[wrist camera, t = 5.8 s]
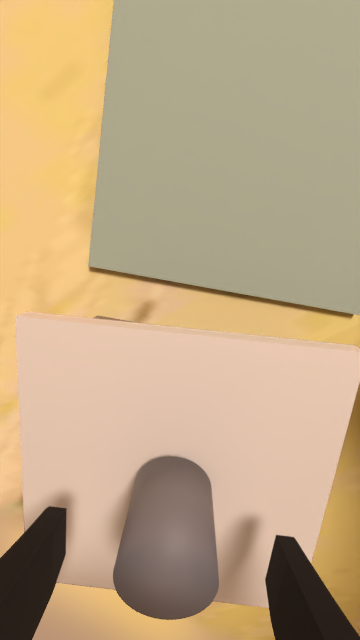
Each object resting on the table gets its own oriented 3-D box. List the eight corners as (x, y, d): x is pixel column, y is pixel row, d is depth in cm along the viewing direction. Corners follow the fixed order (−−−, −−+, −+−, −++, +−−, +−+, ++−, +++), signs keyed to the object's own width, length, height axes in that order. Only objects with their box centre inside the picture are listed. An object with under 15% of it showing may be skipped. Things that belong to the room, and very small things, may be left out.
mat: (465, -19, 12) (474, -28, 11) (355, 313, 15) (359, 315, 15) (125, -81, 12) (122, -92, 11) (90, 265, 15) (88, 266, 15)
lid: (354, 345, 11) (461, 407, 7) (292, 591, 14) (336, 743, 10) (27, 311, 11) (-77, 350, 7) (35, 560, 14) (-33, 696, 10)
